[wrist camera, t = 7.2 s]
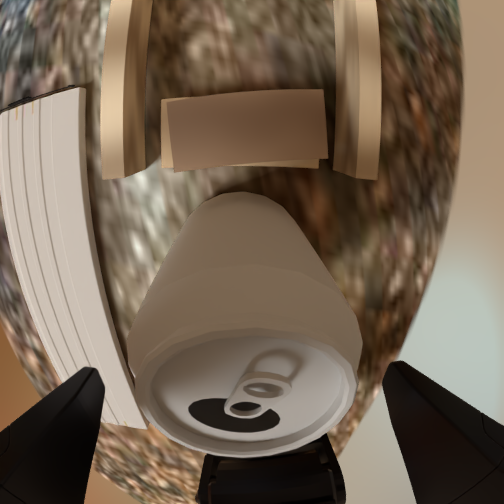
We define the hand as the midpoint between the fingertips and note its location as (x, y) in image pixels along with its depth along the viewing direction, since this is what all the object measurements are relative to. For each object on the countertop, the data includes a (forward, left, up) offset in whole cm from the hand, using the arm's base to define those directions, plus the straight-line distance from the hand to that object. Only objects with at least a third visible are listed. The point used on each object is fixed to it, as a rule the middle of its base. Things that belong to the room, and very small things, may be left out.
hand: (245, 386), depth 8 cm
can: (0, 0, -11) cm, 11 cm away
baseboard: (-5, +14, -12) cm, 19 cm away
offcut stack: (+7, 0, -11) cm, 13 cm away
